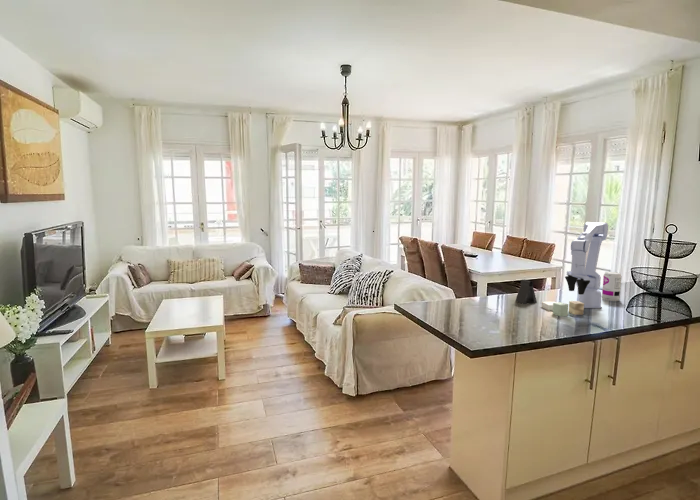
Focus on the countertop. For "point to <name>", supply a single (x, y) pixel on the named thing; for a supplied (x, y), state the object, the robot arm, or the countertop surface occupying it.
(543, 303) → the pedestal block
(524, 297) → the door stopper
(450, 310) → the countertop surface
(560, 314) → the sage block
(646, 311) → the countertop surface
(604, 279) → the supplement can
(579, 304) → the beech block
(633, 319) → the countertop surface
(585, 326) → the countertop surface
